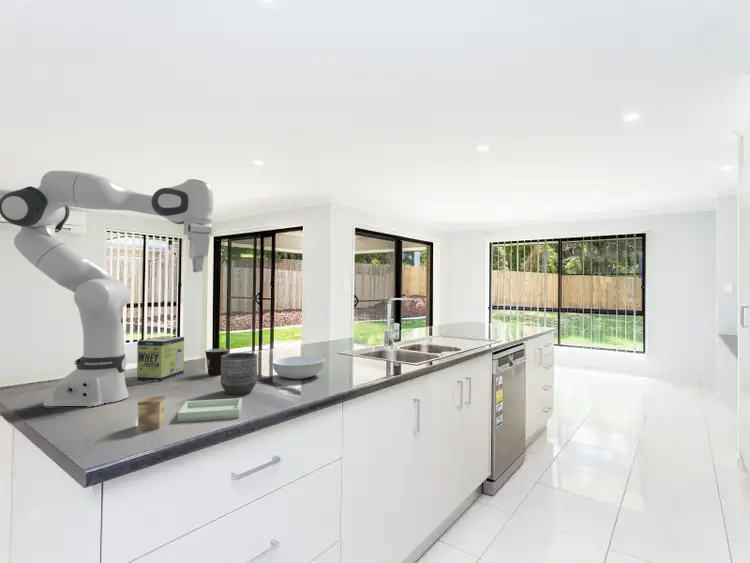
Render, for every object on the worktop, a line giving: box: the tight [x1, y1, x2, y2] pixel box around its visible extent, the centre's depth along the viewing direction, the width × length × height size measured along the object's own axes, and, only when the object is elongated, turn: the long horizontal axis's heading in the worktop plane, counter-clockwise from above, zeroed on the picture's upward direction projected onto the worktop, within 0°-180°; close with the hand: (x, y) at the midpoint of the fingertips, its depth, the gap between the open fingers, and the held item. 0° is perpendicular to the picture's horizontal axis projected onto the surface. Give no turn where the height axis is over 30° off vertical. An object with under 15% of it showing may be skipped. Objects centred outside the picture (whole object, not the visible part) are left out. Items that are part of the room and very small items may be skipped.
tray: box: [177, 397, 243, 423], centre depth 121 cm, size 16×12×2 cm
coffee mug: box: [205, 348, 228, 377], centre depth 173 cm, size 12×9×10 cm
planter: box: [220, 352, 258, 396], centre depth 146 cm, size 12×12×13 cm
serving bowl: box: [272, 355, 325, 380], centre depth 171 cm, size 21×21×7 cm
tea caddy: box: [137, 395, 166, 431], centre depth 110 cm, size 5×5×7 cm
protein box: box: [136, 335, 185, 382], centre depth 169 cm, size 10×16×16 cm
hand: (197, 271), depth 137 cm, fingers open, 8 cm apart
